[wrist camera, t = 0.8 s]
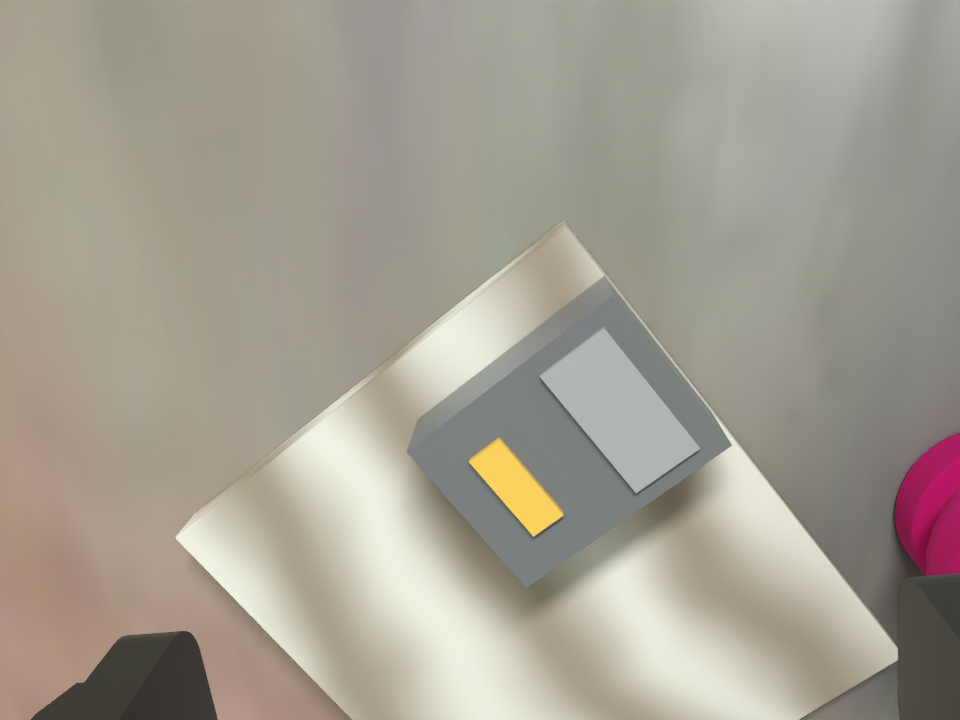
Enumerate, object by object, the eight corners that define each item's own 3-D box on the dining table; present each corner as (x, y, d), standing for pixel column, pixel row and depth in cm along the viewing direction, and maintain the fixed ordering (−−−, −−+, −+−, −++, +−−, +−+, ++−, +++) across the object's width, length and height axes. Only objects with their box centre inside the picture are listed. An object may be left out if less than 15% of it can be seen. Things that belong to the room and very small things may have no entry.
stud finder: (604, 275, 28) (614, 296, 25) (711, 412, 30) (734, 448, 26) (417, 419, 30) (405, 455, 27) (526, 543, 31) (526, 591, 28)
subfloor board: (563, 219, 30) (566, 227, 28) (924, 678, 34) (949, 714, 32) (194, 513, 34) (174, 539, 32) (560, 894, 38) (562, 937, 36)
